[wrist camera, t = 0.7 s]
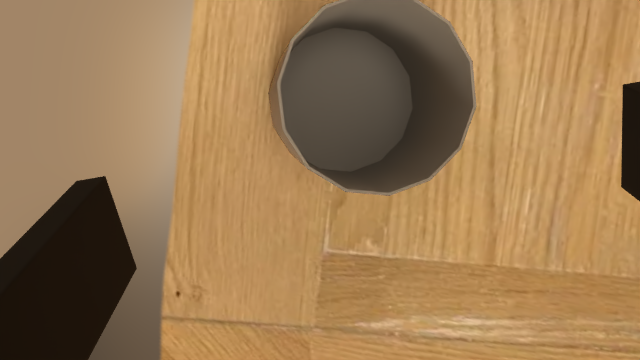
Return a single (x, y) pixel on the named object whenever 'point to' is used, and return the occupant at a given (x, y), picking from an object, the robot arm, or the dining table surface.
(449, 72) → the cup
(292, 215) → the dining table surface
